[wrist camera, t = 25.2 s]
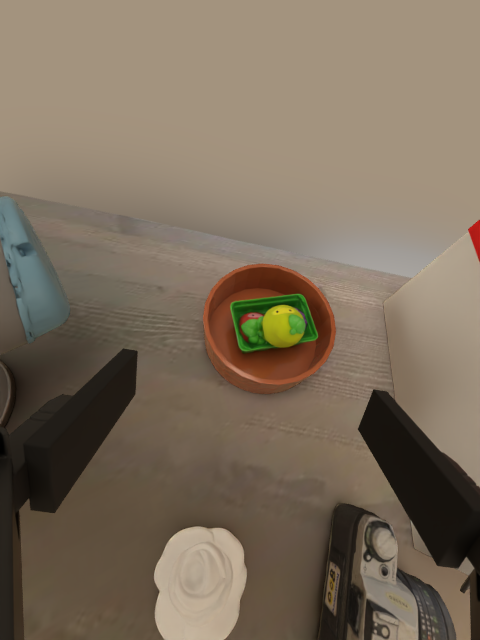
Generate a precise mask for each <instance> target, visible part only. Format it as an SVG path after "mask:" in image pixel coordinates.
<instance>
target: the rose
mask: <svg viewBox="0 0 480 640" xmlns="http://www.w3.org/2000/svg"><path fill="white" fill-rule="evenodd" d="M246 578H247V568H246V566H245V564H244V550H243V547H242V545H241V543H240V542H239V540H238V539H237V538H236V537H235V536H234V535H233V534H232V533H231V532H230V531H228V530H226V529H223V528H212V529H210V528H209V529H207V528H205V527H200V526H197V527H190V528H186V529H183V530H181V531H179V532H177V533H176V534H175V535H174V536H172V538H171V539H170V540H169V541H168V543H167V545H166V547H165V549H164V552H163V554H162V556H161V558H160V560H159V562H158V563H157V565H156V568H155V572H154V581H155V584H156V586H157V588H158V589H159V591H160V593H159V596H158V598H157V602H156V607H155V621H156V625H157V627H158V630H159V632H160V633H161V635H162V637H163V638H164V639H165V640H224V639H225V638H226V637H227V636H228V635H229V634H230V632H231V631H232V629H233V628H234V626H235V624H236V622H237V619H238V616H239V609H240V599H241V596H242V594H243V591H244V588H245V585H246Z"/></svg>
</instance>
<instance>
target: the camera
mask: <svg viewBox="0 0 480 640" xmlns="http://www.w3.org/2000/svg"><path fill="white" fill-rule="evenodd" d="M392 528H393V527H392V525H390V523H388V522H387V521H386V520H383V519H381V518H379V517H378V516H377V515H375V514H374V513H372V512H369V511H366V510H364V509H362V508H359V507H356V506H353V505H350V504H338V505H337V506H336V508H335V511H334V515H333V519H332V528H331V536H330V544H329V555H328V561H327V572H326V580H325V584H324V592H323V607H322V612H321V623H320V630H319V636H318V640H456V633H455V629H454V625H453V622H452V619H451V617H450V614H449V612H448V609H447V607H446V605H445V603H444V602H443V600H442V598H441V597H440V595H439V593H438V592H437V591H436V590H435V589H434V588H433V587H432V586H430V585H428V584H425V583H424V582H422V581H421V580H420V579H418V578H416V577H415V576H412V575H409V574H407V573H405V572H403V571H402V570H400V569H399V568H397V552H398V546H397V540H396V537H395V534H394V531H393V529H392Z"/></svg>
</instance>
